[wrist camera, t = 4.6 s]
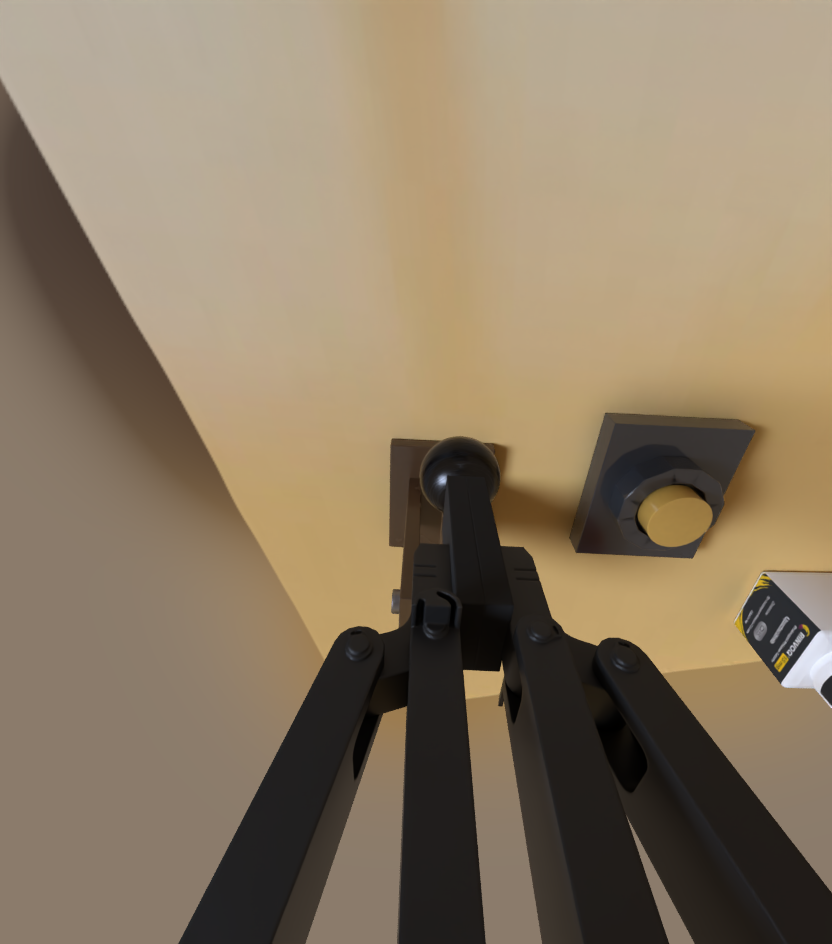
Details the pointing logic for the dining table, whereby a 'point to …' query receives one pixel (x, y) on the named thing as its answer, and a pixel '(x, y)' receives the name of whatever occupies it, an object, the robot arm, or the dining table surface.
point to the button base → (653, 477)
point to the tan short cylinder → (674, 515)
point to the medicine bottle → (792, 628)
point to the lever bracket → (410, 514)
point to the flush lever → (457, 468)
